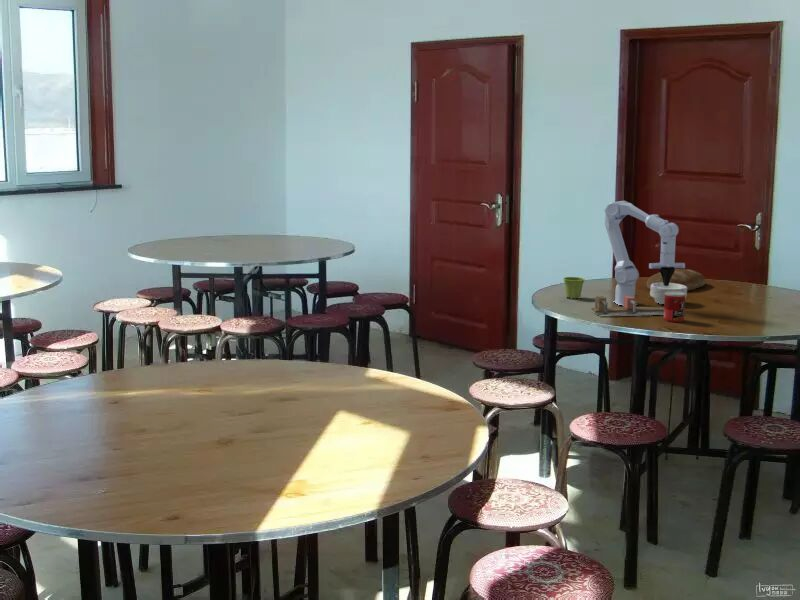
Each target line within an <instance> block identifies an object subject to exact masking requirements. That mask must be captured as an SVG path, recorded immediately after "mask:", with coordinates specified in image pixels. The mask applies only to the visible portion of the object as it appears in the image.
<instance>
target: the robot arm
mask: <svg viewBox="0 0 800 600" xmlns="http://www.w3.org/2000/svg"><path fill="white" fill-rule="evenodd" d="M604 213H605V217H604V226H605V229H606V233H607V236H608V239H609V242H610V246H611V249H612V253H613V256H614V260H615V262H616V265H615V267H614V272H615V273H614V278H615V281H616V282H617V284H616V286H615V291H614V300H612V302H613V303H614V302H615V303H616V305H617V304H618V305H617V306H619V305H622V306H621V307H623V303H624V296H632V297H633V298H635V297H636V295H635V294H636V283H637V281H638V280H639V277H640V273H639V269H637V268H636V266H635V264H634V263H633V261H631V260H630V257H629V254H628V250H627V248H626V245H625V240H624V238H623V234H622V231H621V228H620V223H621V221H622V220H623V219H624V218H625V217H626V216H628V215H629V216H630V217H633V218H636V219H637V220H639V221H642V222H643V223H645V226H646V228H649V229H650V230H652V231H653V232H656V233H658V234H659V237H660V254H659V255H660V257H659V259H660V260H659V262H651V263H648V269H651V270H652V269H658V271H659V272H660V273H661V276H662V279H663V284H664V286H669V282H670V279H671V277H672V275H673V273H674V272H675V269H686V263H685V262H675V261H676V259H675V258H676V239H677V235H678V234H679V231H680V229H679V226H678V225H677V224H676V223H675V222H669V220H667V219H663V218H661V217H660V215H659V214H648V213H646V212H645V211H643V210H642V209H640V208H638V207H637V206H635V205H634V204H633V203H631V202H628V201H626V200H620V201H611V202H609V203H608V204H606V206H605V208H604ZM635 299H636V298H635ZM615 303H614V304H615ZM636 305H638V304H637V303H636Z"/></svg>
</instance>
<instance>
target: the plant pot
mask: <svg viewBox="0 0 800 600" xmlns="http://www.w3.org/2000/svg"><path fill="white" fill-rule="evenodd" d="M562 280H563V282H564V287H565V288H564V289H565V298H566V297H570V298H578V299H580V298H581V295H582V290H583V285H584V282H585V278H584V277H578V276H565V277H563V278H562ZM579 297H580V298H579ZM570 298H569V299H570Z"/></svg>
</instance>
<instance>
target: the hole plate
mask: <svg viewBox="0 0 800 600" xmlns="http://www.w3.org/2000/svg"><path fill="white" fill-rule="evenodd" d="M595 313H597V314H598V315H621V316H636V317H643V316H642V315H650V316H649V317H652V316H651V315H664V311H637V312H595Z"/></svg>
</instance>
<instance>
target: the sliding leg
mask: <svg viewBox="0 0 800 600" xmlns="http://www.w3.org/2000/svg"><path fill="white" fill-rule="evenodd" d="M636 304H637V301H636V298H633V297H632V296H624V303H623V306H622V307H625V308H626V309H633V312H636V307H637V306H636Z"/></svg>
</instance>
